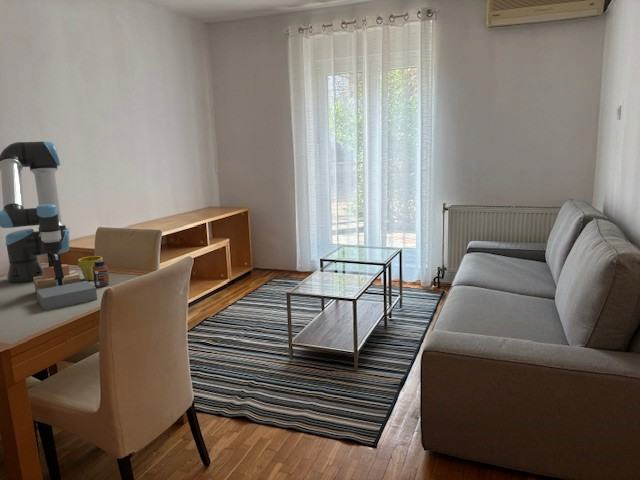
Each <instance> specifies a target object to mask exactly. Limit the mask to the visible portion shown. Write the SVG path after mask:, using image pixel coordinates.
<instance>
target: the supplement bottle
mask: <svg viewBox="0 0 640 480" xmlns="http://www.w3.org/2000/svg"><path fill="white" fill-rule="evenodd" d="M94 263H95V266H94V267H93V276H94V280H93V282H94V283H93V284H94V287H96V288H102V287H103V288H105V287H106V286H109V285H110V279H109V271H108V266H107V265H106V264H105V260H98V261H95V262H94ZM104 286H105V287H104Z"/></svg>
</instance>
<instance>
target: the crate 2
mask: <svg viewBox="0 0 640 480" xmlns="http://www.w3.org/2000/svg"><path fill="white" fill-rule="evenodd" d="M61 265H62V270H63V275H64V276H65V275H70V274H69V271H70V269H69V268H70V267H69V264H67V263H66V264H61ZM58 276H60V275H58Z"/></svg>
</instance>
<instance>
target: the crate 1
mask: <svg viewBox="0 0 640 480" xmlns="http://www.w3.org/2000/svg"><path fill="white" fill-rule="evenodd" d="M42 270H43V276H44V278H45V279H48V278H54V277H56V276H55V272H54V267H53V266H52V267H49V266H47V267H42Z"/></svg>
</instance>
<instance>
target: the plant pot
mask: <svg viewBox="0 0 640 480" xmlns="http://www.w3.org/2000/svg"><path fill="white" fill-rule="evenodd" d="M98 260H103V257H102V256H100V255H93V256H85V257H81V258H79V259H78V260H77V265H78V267H79V268H80V269H81V272H82V275H83V277H84V281H94V276H93V267H94V266H95V263H94V262H95V261H98Z"/></svg>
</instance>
